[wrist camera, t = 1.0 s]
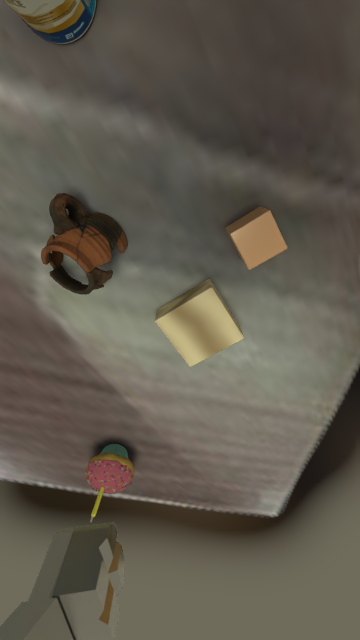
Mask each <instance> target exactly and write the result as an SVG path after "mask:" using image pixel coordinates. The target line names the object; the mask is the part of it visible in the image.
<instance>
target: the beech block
mask: <svg viewBox="0 0 360 640" xmlns="http://www.w3.org/2000/svg"><path fill="white" fill-rule="evenodd" d="M155 322H156V323H157V324H158V326H159V327H160V328H161V330H162V331H163V332H164V333H165V335H166V336H167V337H168V339H169V340H170V341H171V343H172V344H173V345H174V347H175V348H176V349H177V351H178V352H179V353H180V354H181V356H182V357H183V358H184V360H185V361H186V362H187V364H188V365H189V366H190V367H191V366H193V365H195V364H196V363H198V362H200V361H202V360H204V359H206V358H208V357H210V356H211V355H213V354H215V353H217V352H219V351H221V350H223V349H225V348H226V347H228V346H230V345H232V344H234V343H236V342H238V341H240V340H241V339H243V338H244V336H243V334H242V331H241V329H240V326H239V325H238V323H237V321H236V320H235V318H234V317H233V315H232V313H231V312H230V310H229V309H228V307H227V306H226V304H225V302H224V301H223V299H222V298H221V296H220V294H219V293H218V291H217V290H216V288H215V287H214V285H213V283H212V282H211V280H210V279H207V280H206V281H204V282H203V283H201V284H199V285H198V286H196V287H194V288H193V289H191V290H189V291H188V292H186V293H184V294H183V295H181V296H179V297H178V298H176V299H175V300H173V301H171V302H170V303H168V304H166V305H165V306H163V307H161V308H160V309H158V310H157V313H156V318H155Z"/></svg>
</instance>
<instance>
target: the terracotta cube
mask: <svg viewBox="0 0 360 640" xmlns="http://www.w3.org/2000/svg"><path fill="white" fill-rule="evenodd" d="M225 229H226V231H227V233H228V235H229V237H230V239H231V240H232V242H233V244H234V246H235V248H236V250H237V252H238V253H239V255H240V257H241V259H242V261H243V262H244V263H245V265H246V266H247V268H248V269H249V270H250V269H252V268H254V267H256V266H258V265H259V264H261V263H263V262H265V261H266V260H268V259H270V258H272V257H273V256H275V255H277V254H279V253H280V252H282V251H284V250H286V249H288V248H287V246H286V244H285V242H284V239H283V237H282V235H281V233H280V231H279V229H278V226H277V224H276V222H275V220H274V218H273V216H272V213H271V211H270V210H268V209H265V208H263V207H258V208H256V209H255V210H253V211H251V212H250V213H248V214H247V215H245V216H243V217H242V218H240V219H239V220H237V221H235V222H234V223H232V224H230V225H229V226H227V227H226V228H225Z"/></svg>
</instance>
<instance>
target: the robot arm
mask: <svg viewBox="0 0 360 640" xmlns="http://www.w3.org/2000/svg"><path fill="white" fill-rule="evenodd" d="M117 533H118V532H117V529H116V526H115V523H106V524H97V525H89V526H82V527H74V528H67V529H60V530H58V531H57V532H56V534H55V535H54V536H53V539H52V541H51V544H50V546H49V549H48V551H47V554H46V556H45V559H44V561H43V564H42V566H41V569H40V572H39V574H38V576H37V579H36V581H35V584H34V586H33V589H32V592H31V594H30V596H29V599H28V601H27V602H22V603H21V604H20V605H19V606H18V607H17V608H16V609H15V610H14V612H13V613H12V614H11V615H10V616H9V617H8V618H7V619H6V621H5V622H4V623H3V624H2V625H1V626H0V640H115V638H116V631H117V624H118V617H119V610H120V609H119V605H118V602H117V599H116V597H117V595H118V594H119V592H120V591H121V589H122V588H123V581H124V554H123V549H122V545H121V544H120V543H119V542H117V541H116V539H117Z"/></svg>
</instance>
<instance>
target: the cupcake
mask: <svg viewBox="0 0 360 640" xmlns="http://www.w3.org/2000/svg"><path fill="white" fill-rule="evenodd" d="M85 475H86V479H87V481H88V482H89V485H91V487H93V489H94V490H96V491H99V494H98V497H97V500H96V503H95V506H94V509H93V511H92V514H91V516H92V518H91V521H92V519H93V517H95V515H96V512H97V509H98V506H99V503H100V500H101V497H102V494H103V493H107V494H108V493H109V494H112V493H113V494H114V493H118V492H120V491H123V490H124V489H126V487H127V486H129V485H130V484H131V483H132V482H131V481H132V479H133V476H134V466H133V465H132V463H131V461H130V460H129V459H128V453H127V450H126V449H125V448H124V447H123V446H121V445H119V444H109V445H107V446H105V447H104V449H103V450H102V452H101V453H100V454H99V455H97V456H94V457H92V458H91V459H90V461H89V463H88V466H87V471H86V473H85ZM91 521H90V522H91Z"/></svg>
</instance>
